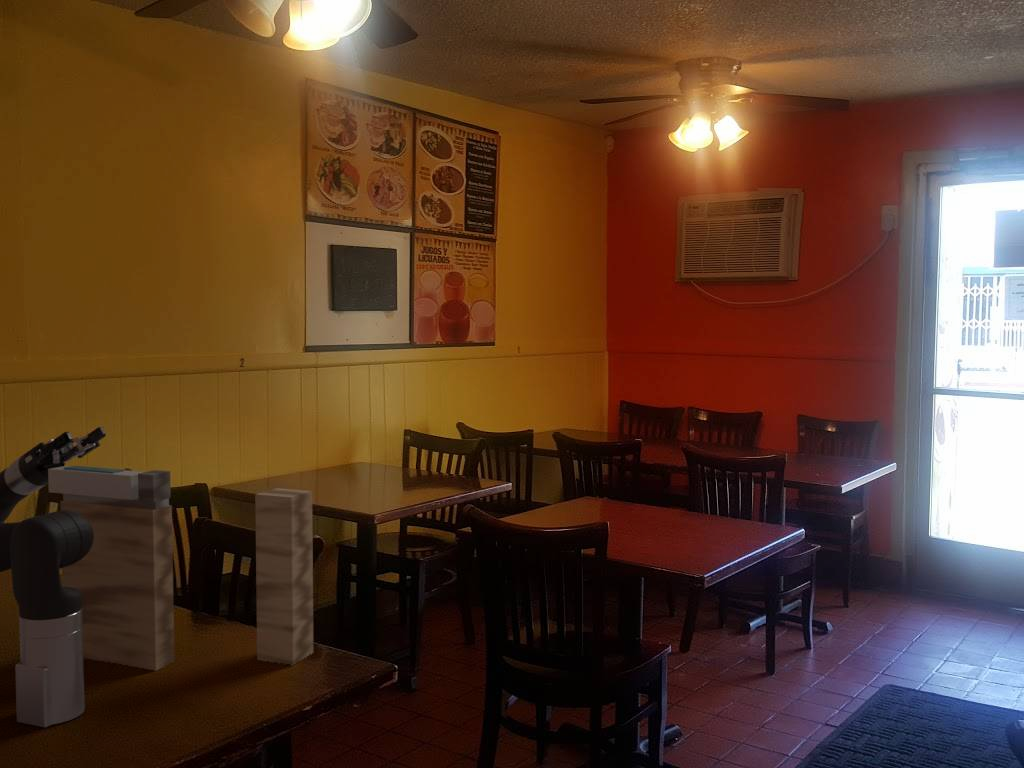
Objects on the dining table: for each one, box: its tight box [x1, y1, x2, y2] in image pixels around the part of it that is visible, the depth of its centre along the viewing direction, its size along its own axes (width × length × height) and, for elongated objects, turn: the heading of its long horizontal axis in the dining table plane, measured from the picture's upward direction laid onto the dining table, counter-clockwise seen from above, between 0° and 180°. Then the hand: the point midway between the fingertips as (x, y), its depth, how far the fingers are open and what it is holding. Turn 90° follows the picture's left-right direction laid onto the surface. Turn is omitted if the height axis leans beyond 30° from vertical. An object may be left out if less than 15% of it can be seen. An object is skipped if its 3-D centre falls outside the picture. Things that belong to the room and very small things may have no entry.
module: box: [47, 465, 144, 500], centre depth 179 cm, size 20×4×5 cm, turn 69°
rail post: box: [59, 469, 175, 671], centre depth 178 cm, size 5×22×36 cm, turn 70°
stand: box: [254, 487, 314, 666], centre depth 180 cm, size 7×8×32 cm
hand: (86, 433), depth 186 cm, fingers open, 8 cm apart
